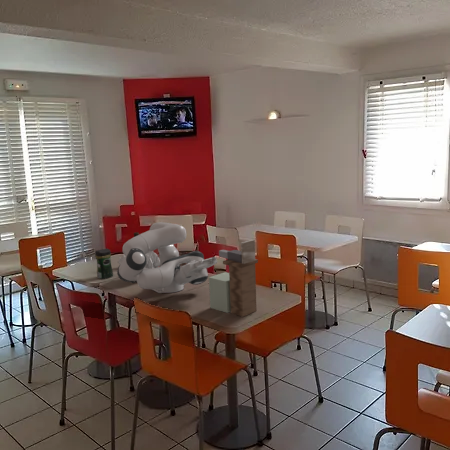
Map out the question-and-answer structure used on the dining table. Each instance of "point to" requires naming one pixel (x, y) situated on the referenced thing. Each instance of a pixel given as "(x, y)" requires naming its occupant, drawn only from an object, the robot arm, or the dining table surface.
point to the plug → (231, 255)
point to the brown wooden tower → (243, 281)
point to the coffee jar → (103, 263)
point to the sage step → (220, 292)
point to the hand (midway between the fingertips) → (208, 259)
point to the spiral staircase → (151, 260)
